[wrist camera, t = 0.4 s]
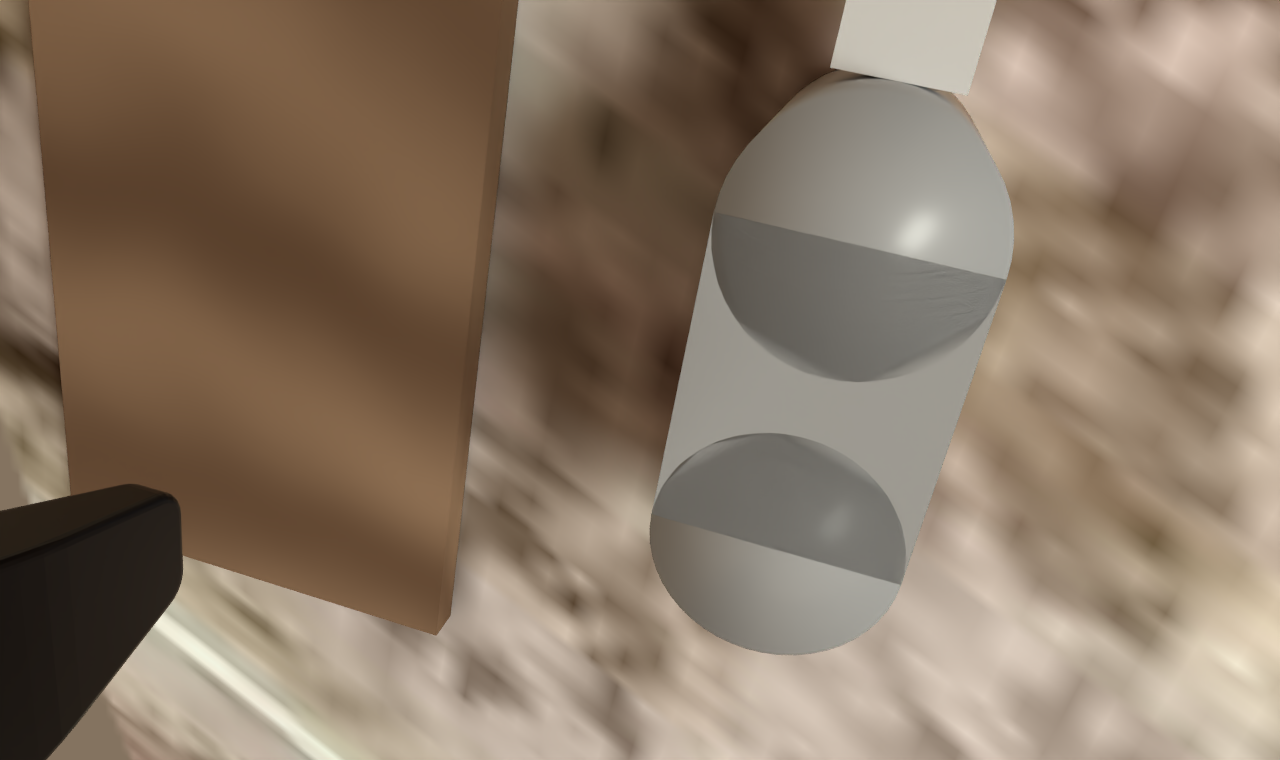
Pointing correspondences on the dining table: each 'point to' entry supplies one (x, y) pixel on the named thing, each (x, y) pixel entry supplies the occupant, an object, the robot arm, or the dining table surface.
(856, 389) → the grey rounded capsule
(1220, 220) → the dining table surface
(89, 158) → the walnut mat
